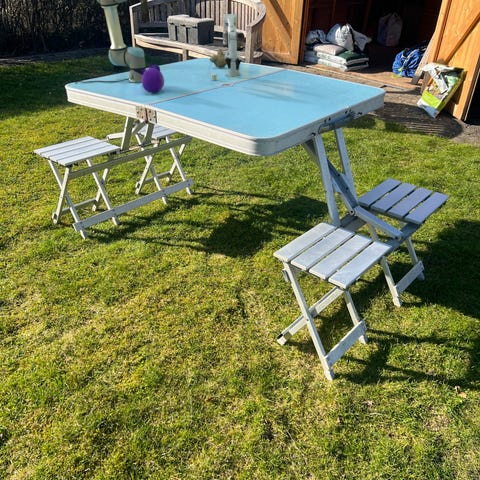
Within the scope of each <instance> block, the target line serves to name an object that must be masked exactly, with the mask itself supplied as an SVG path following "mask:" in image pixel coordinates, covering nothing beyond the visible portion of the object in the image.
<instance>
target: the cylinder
mask: <svg viewBox="0 0 480 480" xmlns="http://www.w3.org/2000/svg"><path fill="white" fill-rule="evenodd" d="M217 80H218V79H217V73H211V81H212V82H213V81H217Z"/></svg>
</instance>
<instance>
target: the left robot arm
mask: <svg viewBox="0 0 480 480" xmlns="http://www.w3.org/2000/svg"><path fill="white" fill-rule="evenodd" d="M96 1H97V3H99V4H100V7H101V8H102V9H103V10H104V15H105V19H106V24H107V30H108V34H109V39H110V43H111V46H110V49H109V50H108V59H109V61H110V63H111V64H113V65H114V66H118V67H129V76H128V78H124V79H119V80H88V81H82V80H77V81H75V82H74V84H78V83H83V84H88V83H118V82H119V83H120V82H125V81H128V82H129V83H133V84H142V76H143V75H141V74H139V73H137V72H135V71H134V70H147V67H146V59H145V52H144V49H143V48H141V47H137V46H129V47H127V45H126V44H125V43H124V40H123V39H124V38H123V35H122V28H121V24H120V19H119V13H118V9H117V8H118V6H119V4H121V3H124V2H127V1H128V0H96ZM150 13H151V11H150V7H149V2H148V0H140V15H141V18H142V24H147V23H151V18H150V17H151V16H150Z"/></svg>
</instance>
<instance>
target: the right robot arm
mask: <svg viewBox="0 0 480 480" xmlns="http://www.w3.org/2000/svg"><path fill="white" fill-rule="evenodd" d="M237 19H238V15H237V13H224V14H223V26H224V28H225V29H226V31H227V42H228V43H227V45H228V50H227V51H225V52H226V54H225V61H226V63H227V65H226V66H227V74H225V76H226V77H236V76H240V75H241V73H240V65H241V62H242V60H243V58H242V56H239V52H238V41H237V40H238V32H237V28H236V27H237V25H238V24H237V23H238V20H237Z"/></svg>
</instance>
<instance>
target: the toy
mask: <svg viewBox="0 0 480 480" xmlns="http://www.w3.org/2000/svg"><path fill="white" fill-rule="evenodd" d="M134 71H135V72H137V73H139V74H141V75H143V76H142V83H141V85H142V87H143V89H144V90H145V91H146V92H147V93H151V94H157V93H159V92H160V91H161V90H162V89H163V87H164V86H165V78H164V75H163V72H161V67H160V66H159V65H158V64H153V65H151V66H149V67H148V68H146V70H134Z"/></svg>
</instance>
